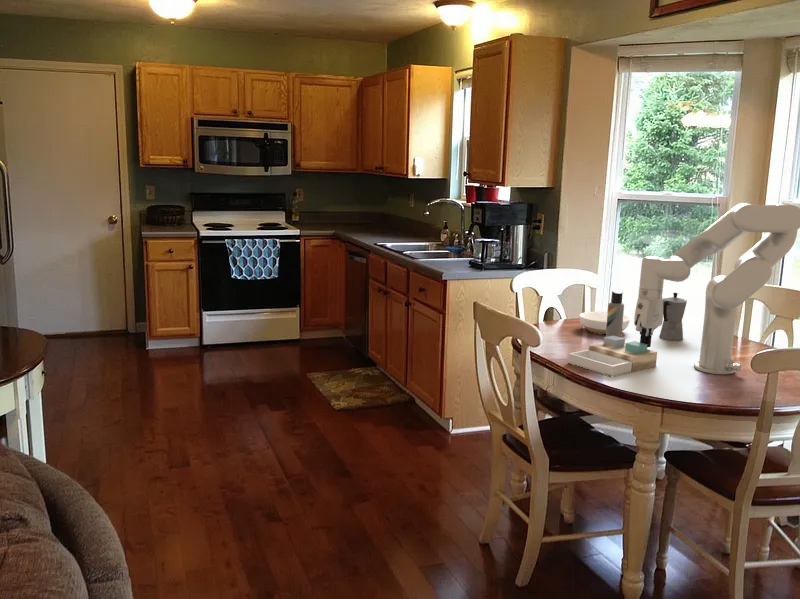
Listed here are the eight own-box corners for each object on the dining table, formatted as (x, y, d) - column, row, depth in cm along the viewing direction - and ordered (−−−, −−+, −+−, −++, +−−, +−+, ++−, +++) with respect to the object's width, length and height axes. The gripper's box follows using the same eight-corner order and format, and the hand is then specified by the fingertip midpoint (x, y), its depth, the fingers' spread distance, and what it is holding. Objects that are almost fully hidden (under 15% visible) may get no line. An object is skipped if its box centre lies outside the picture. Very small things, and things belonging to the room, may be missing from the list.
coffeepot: (667, 333, 296) (672, 289, 292) (690, 337, 289) (695, 292, 285) (648, 338, 285) (653, 293, 282) (672, 343, 278) (676, 297, 275)
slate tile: (624, 345, 253) (625, 338, 253) (615, 347, 250) (615, 340, 250) (612, 342, 257) (613, 335, 257) (603, 344, 254) (603, 337, 254)
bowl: (600, 339, 283) (601, 323, 281) (568, 328, 300) (569, 313, 299) (639, 335, 291) (640, 320, 290) (605, 324, 308) (607, 310, 307)
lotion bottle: (619, 341, 280) (623, 289, 276) (622, 345, 274) (626, 292, 270) (604, 340, 280) (608, 289, 276) (606, 344, 275) (611, 291, 271)
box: (631, 372, 239) (632, 361, 239) (611, 377, 234) (612, 366, 233) (587, 359, 254) (588, 349, 253) (567, 363, 248) (568, 353, 247)
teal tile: (646, 351, 246) (647, 344, 246) (637, 353, 243) (638, 346, 243) (634, 348, 250) (634, 341, 250) (625, 350, 247) (625, 343, 247)
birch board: (655, 366, 247) (657, 351, 246) (632, 371, 240) (633, 357, 239) (612, 353, 261) (613, 340, 260) (588, 359, 254) (589, 345, 253)
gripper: (646, 297, 239) (640, 351, 242) (673, 293, 247) (667, 346, 251) (627, 293, 245) (621, 346, 248) (654, 289, 253) (649, 341, 257)
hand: (644, 346), depth 250 cm, fingers closed
